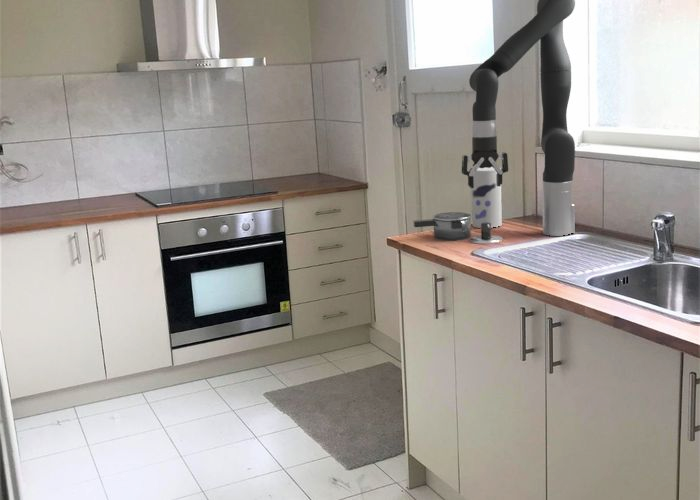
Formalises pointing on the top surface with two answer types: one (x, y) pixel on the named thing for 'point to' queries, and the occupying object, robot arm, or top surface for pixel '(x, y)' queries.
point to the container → (486, 198)
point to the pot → (448, 225)
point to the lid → (485, 235)
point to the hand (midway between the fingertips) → (485, 187)
